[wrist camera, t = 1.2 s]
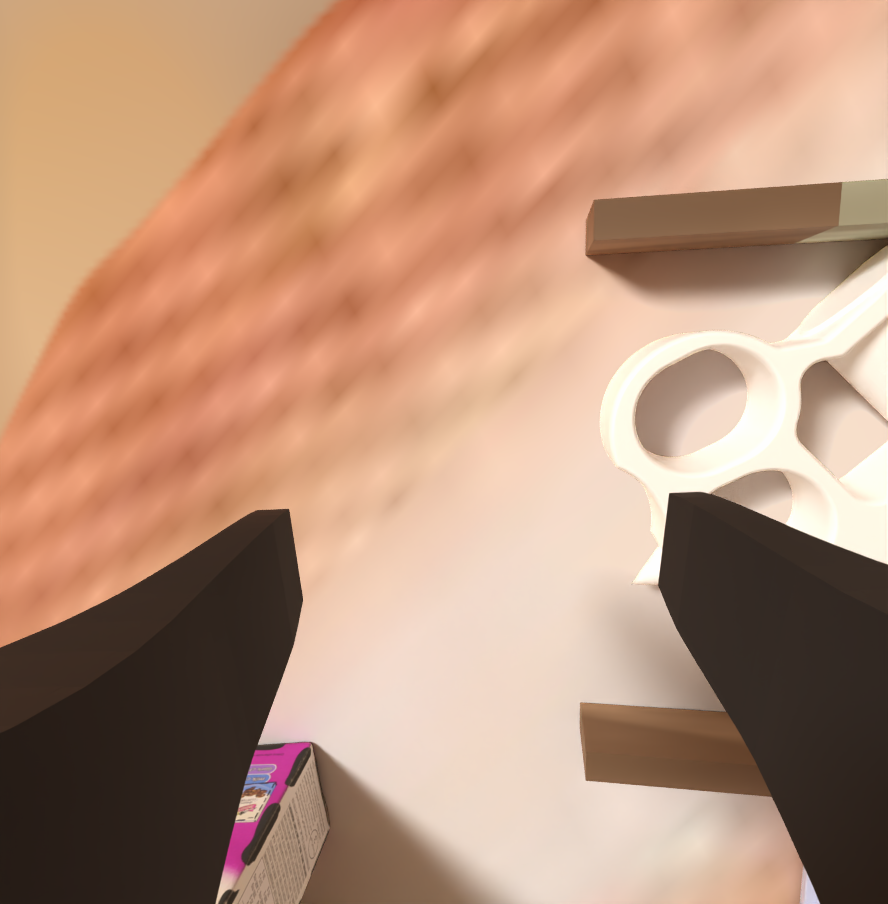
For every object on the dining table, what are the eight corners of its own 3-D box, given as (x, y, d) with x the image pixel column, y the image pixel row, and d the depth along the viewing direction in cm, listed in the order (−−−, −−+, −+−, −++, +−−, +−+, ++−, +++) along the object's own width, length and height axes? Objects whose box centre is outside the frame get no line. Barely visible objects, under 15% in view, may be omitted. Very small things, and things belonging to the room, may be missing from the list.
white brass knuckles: (1187, 535, 20) (832, 771, 23) (821, 169, 20) (517, 463, 23) (1316, 572, 17) (881, 841, 20) (878, 134, 16) (514, 482, 20)
